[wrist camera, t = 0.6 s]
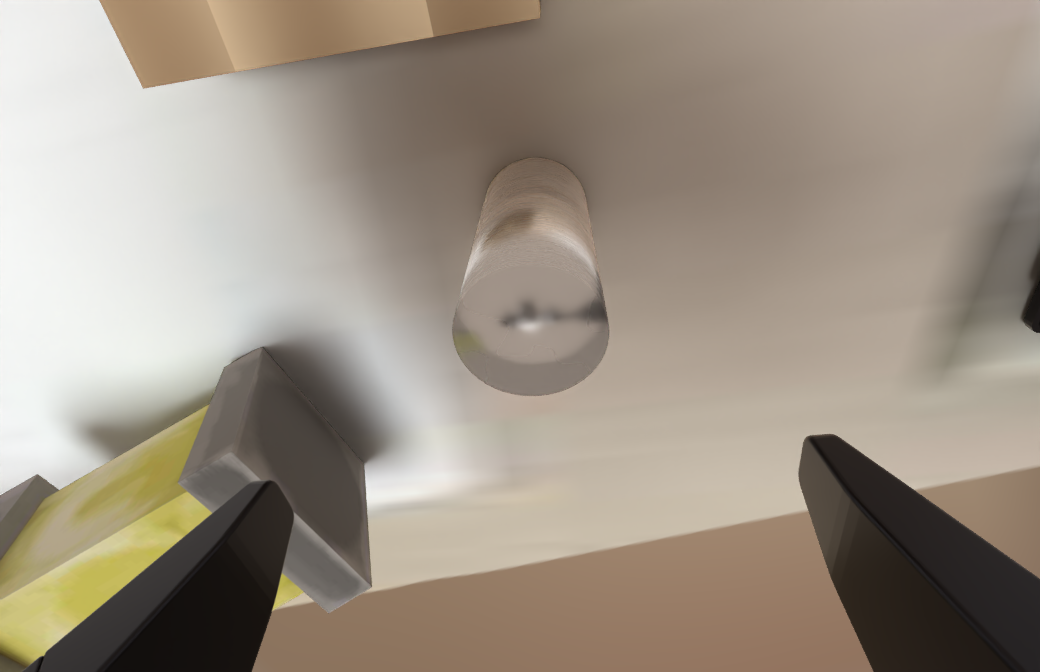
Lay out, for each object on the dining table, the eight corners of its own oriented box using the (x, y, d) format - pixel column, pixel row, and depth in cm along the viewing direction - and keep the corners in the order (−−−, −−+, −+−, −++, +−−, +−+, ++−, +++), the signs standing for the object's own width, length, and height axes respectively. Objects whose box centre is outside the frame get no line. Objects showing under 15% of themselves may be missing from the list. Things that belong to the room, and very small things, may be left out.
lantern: (282, 277, 31) (-202, 551, 30) (231, 451, 16) (-737, 1014, 15) (358, 374, 35) (-68, 622, 34) (371, 587, 20) (-389, 1047, 19)
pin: (581, 149, 18) (603, 255, 11) (590, 249, 20) (613, 388, 13) (475, 165, 18) (436, 276, 12) (494, 261, 20) (470, 402, 14)
